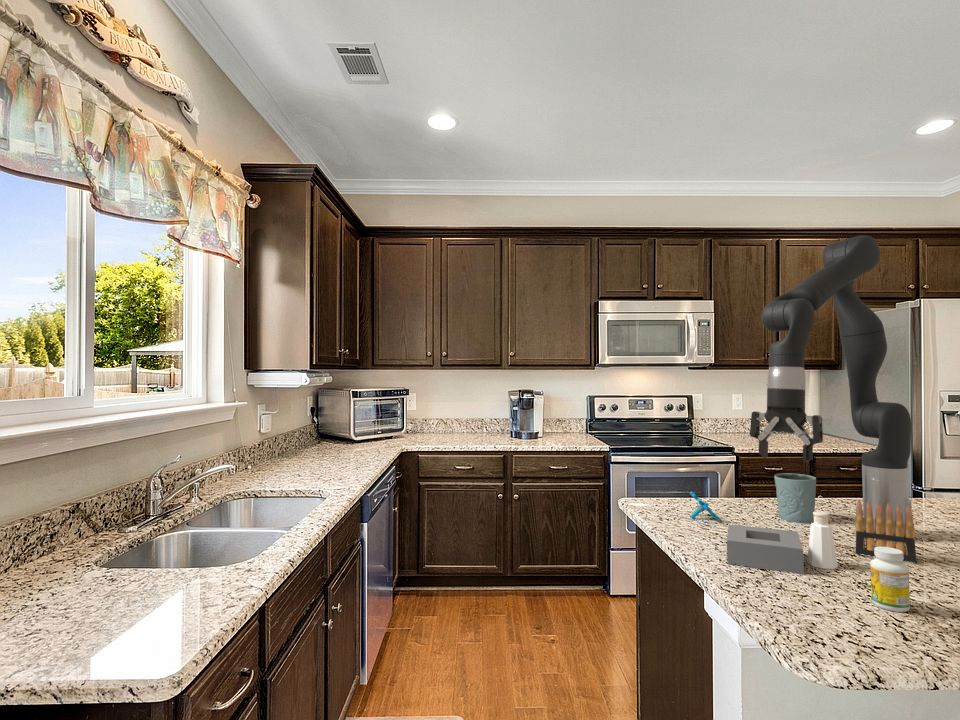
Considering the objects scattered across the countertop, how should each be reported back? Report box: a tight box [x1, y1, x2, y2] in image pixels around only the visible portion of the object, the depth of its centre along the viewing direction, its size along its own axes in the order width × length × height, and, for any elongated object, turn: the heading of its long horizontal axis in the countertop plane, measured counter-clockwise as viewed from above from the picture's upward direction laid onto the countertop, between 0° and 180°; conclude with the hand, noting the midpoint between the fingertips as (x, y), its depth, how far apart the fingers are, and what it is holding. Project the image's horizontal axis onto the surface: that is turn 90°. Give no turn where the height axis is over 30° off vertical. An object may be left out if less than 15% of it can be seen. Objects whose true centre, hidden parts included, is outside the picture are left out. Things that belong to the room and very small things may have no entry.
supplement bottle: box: [869, 547, 911, 613], centre depth 93 cm, size 5×5×10 cm
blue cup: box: [773, 472, 817, 524], centre depth 150 cm, size 10×10×12 cm
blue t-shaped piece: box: [689, 491, 720, 521], centre depth 152 cm, size 11×6×10 cm
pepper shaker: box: [806, 510, 838, 570], centre depth 114 cm, size 5×5×11 cm
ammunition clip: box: [854, 499, 918, 564], centre depth 119 cm, size 11×2×12 cm, turn 55°
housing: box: [726, 523, 805, 575], centre depth 117 cm, size 14×14×5 cm
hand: (784, 459), depth 121 cm, fingers open, 8 cm apart
